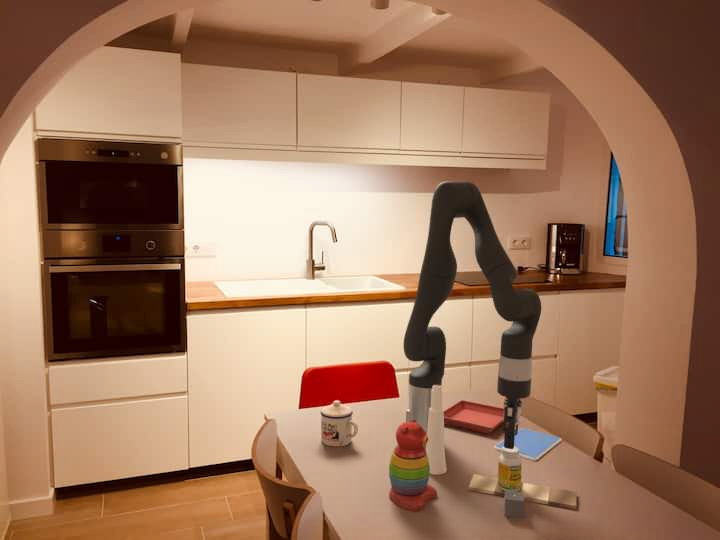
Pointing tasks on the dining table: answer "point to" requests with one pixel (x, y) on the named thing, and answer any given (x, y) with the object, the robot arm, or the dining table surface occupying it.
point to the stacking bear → (410, 468)
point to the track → (527, 492)
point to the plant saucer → (474, 416)
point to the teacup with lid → (337, 425)
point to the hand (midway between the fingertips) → (510, 440)
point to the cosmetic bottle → (436, 433)
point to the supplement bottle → (509, 469)
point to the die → (514, 504)
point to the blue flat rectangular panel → (532, 443)
